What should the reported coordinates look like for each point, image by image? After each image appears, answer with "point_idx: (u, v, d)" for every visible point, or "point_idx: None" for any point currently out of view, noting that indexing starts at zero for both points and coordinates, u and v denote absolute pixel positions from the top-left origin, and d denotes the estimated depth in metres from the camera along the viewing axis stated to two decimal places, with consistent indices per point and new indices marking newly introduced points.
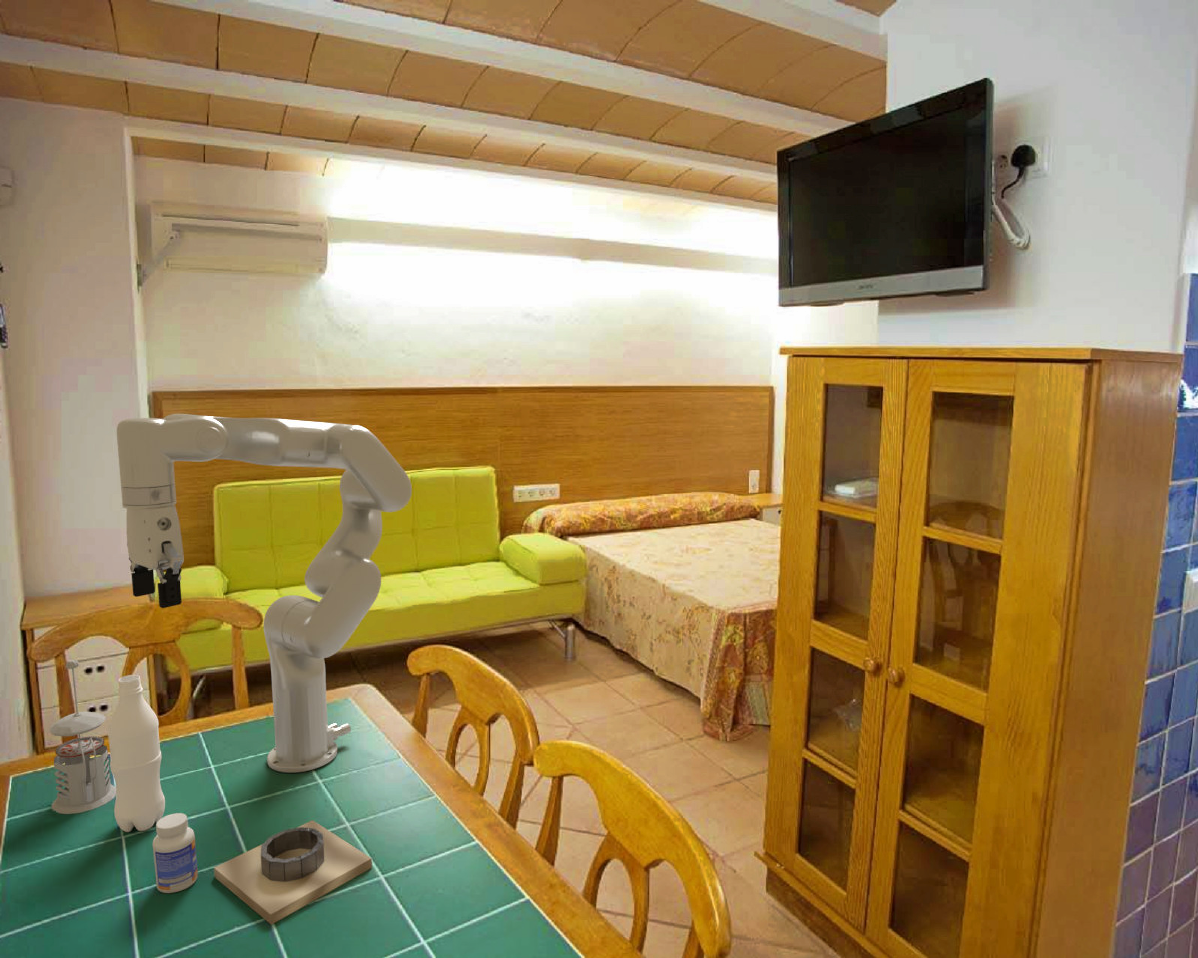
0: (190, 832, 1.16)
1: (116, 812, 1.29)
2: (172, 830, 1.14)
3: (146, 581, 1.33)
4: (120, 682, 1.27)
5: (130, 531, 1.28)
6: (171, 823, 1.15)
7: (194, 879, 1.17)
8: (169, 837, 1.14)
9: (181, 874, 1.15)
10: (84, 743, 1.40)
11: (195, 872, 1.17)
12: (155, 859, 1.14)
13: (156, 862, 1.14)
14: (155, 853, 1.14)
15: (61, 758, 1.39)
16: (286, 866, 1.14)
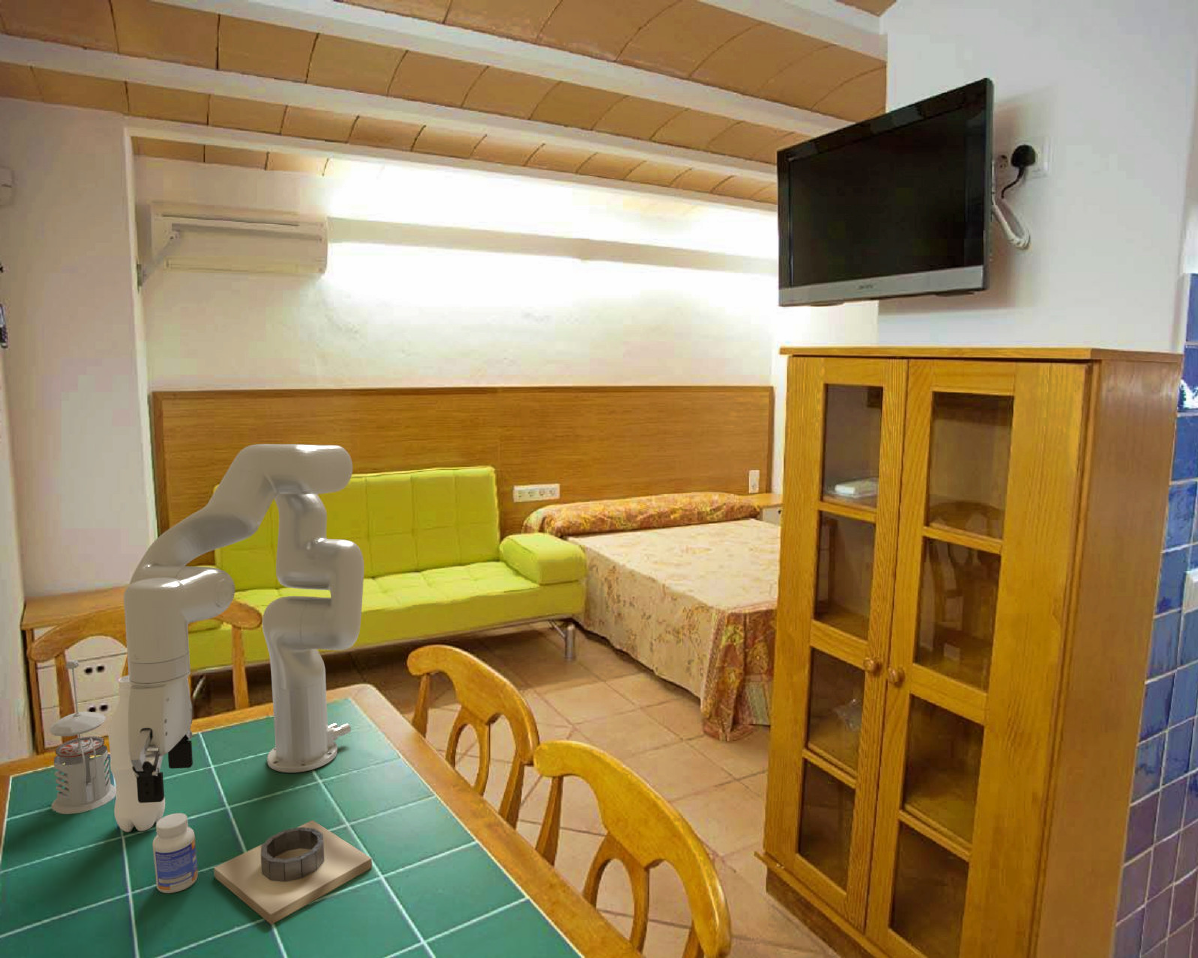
0: (190, 832, 1.16)
1: (116, 812, 1.29)
2: (172, 830, 1.14)
3: None
4: (120, 682, 1.27)
5: (173, 711, 1.11)
6: (171, 823, 1.15)
7: (194, 879, 1.17)
8: (169, 837, 1.14)
9: (181, 874, 1.15)
10: (84, 743, 1.40)
11: (195, 872, 1.17)
12: (155, 859, 1.14)
13: (156, 862, 1.14)
14: (155, 853, 1.14)
15: (61, 758, 1.39)
16: (286, 866, 1.14)
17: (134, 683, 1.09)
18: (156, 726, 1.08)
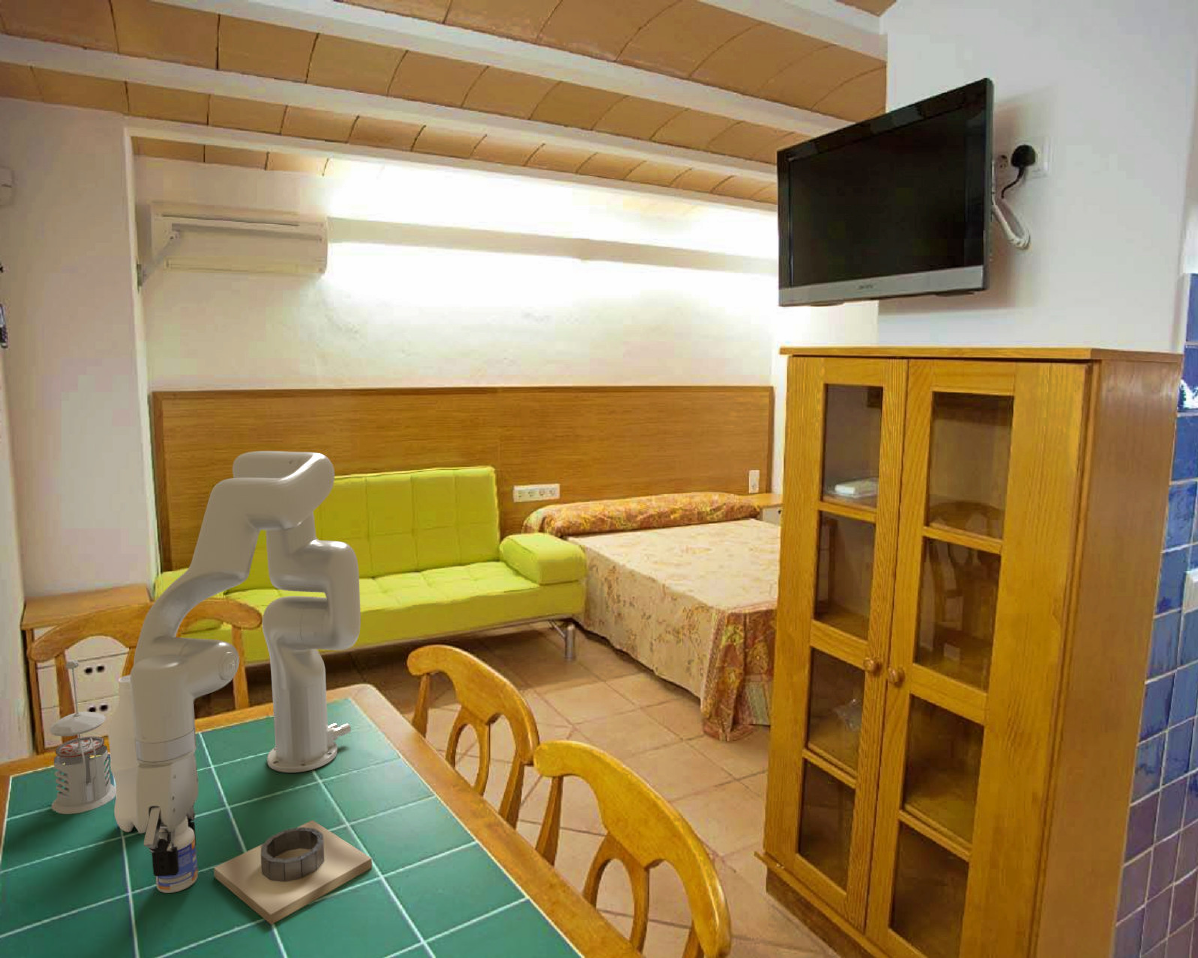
0: (190, 832, 1.16)
1: (116, 812, 1.29)
2: None
3: None
4: (120, 682, 1.27)
5: (181, 786, 1.13)
6: None
7: (194, 879, 1.17)
8: None
9: (181, 874, 1.15)
10: (84, 743, 1.40)
11: (195, 872, 1.17)
12: None
13: None
14: None
15: (61, 758, 1.39)
16: (286, 866, 1.14)
17: (141, 761, 1.11)
18: (163, 804, 1.10)
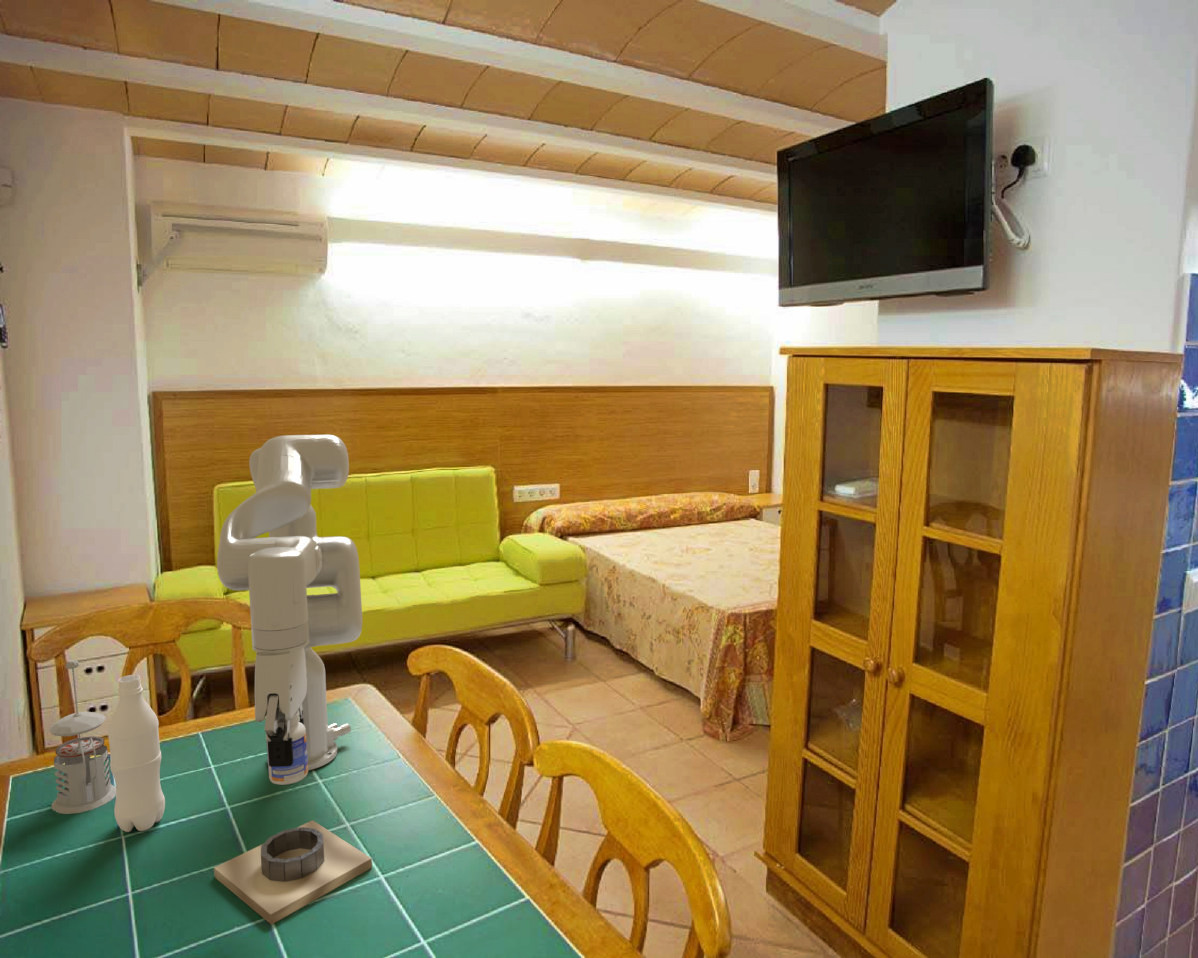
0: (302, 726, 1.17)
1: (116, 812, 1.29)
2: None
3: None
4: (120, 682, 1.27)
5: (296, 677, 1.13)
6: (284, 715, 1.15)
7: (306, 773, 1.17)
8: (283, 729, 1.14)
9: (294, 766, 1.15)
10: (84, 743, 1.40)
11: (306, 766, 1.17)
12: None
13: None
14: None
15: (61, 758, 1.39)
16: (286, 866, 1.14)
17: (259, 650, 1.11)
18: (282, 692, 1.10)
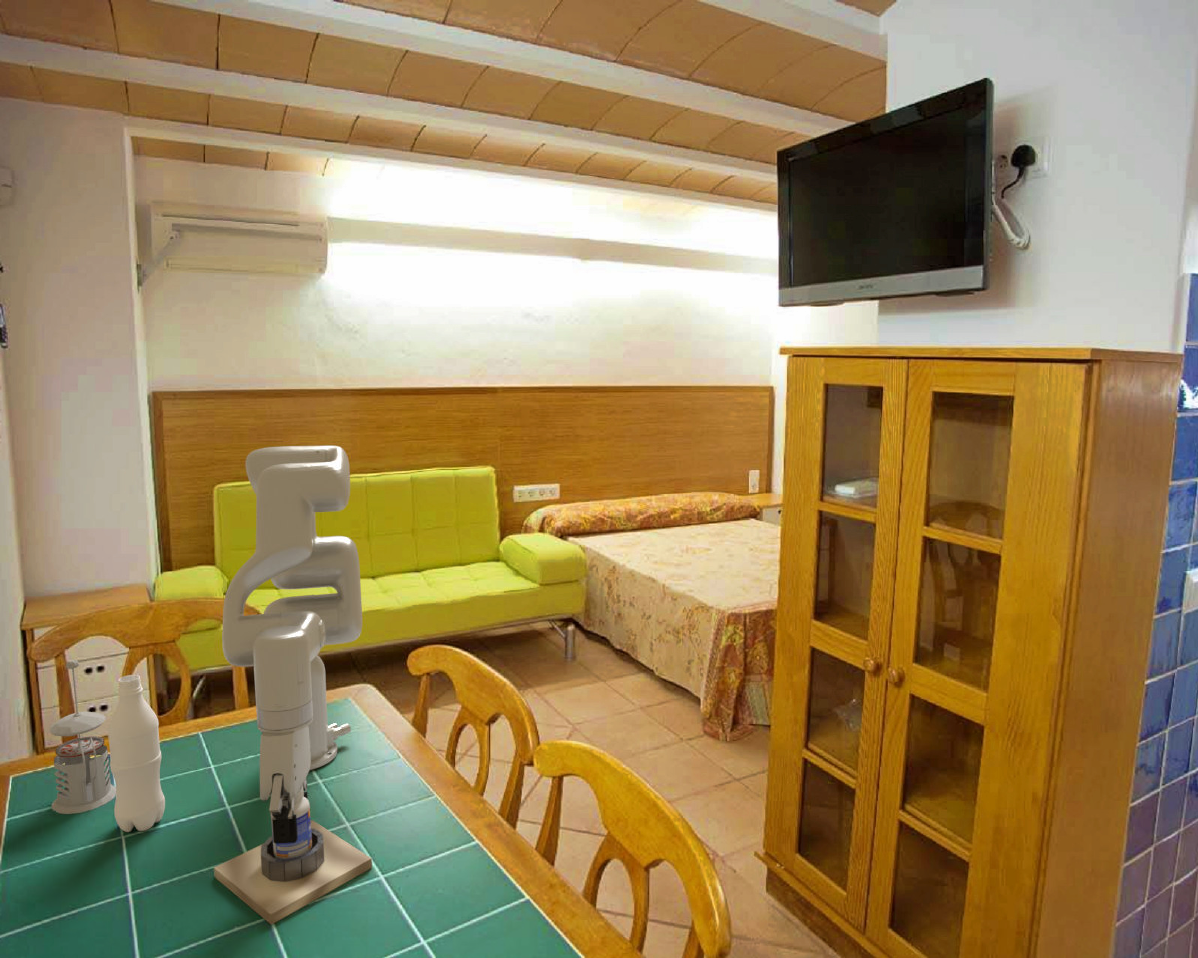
0: (306, 801, 1.18)
1: (116, 812, 1.29)
2: None
3: None
4: (120, 682, 1.27)
5: (300, 755, 1.15)
6: None
7: (310, 847, 1.18)
8: (287, 805, 1.16)
9: (299, 841, 1.16)
10: (84, 743, 1.40)
11: (310, 840, 1.19)
12: None
13: None
14: None
15: (61, 758, 1.39)
16: (286, 866, 1.14)
17: (264, 730, 1.13)
18: (286, 771, 1.12)
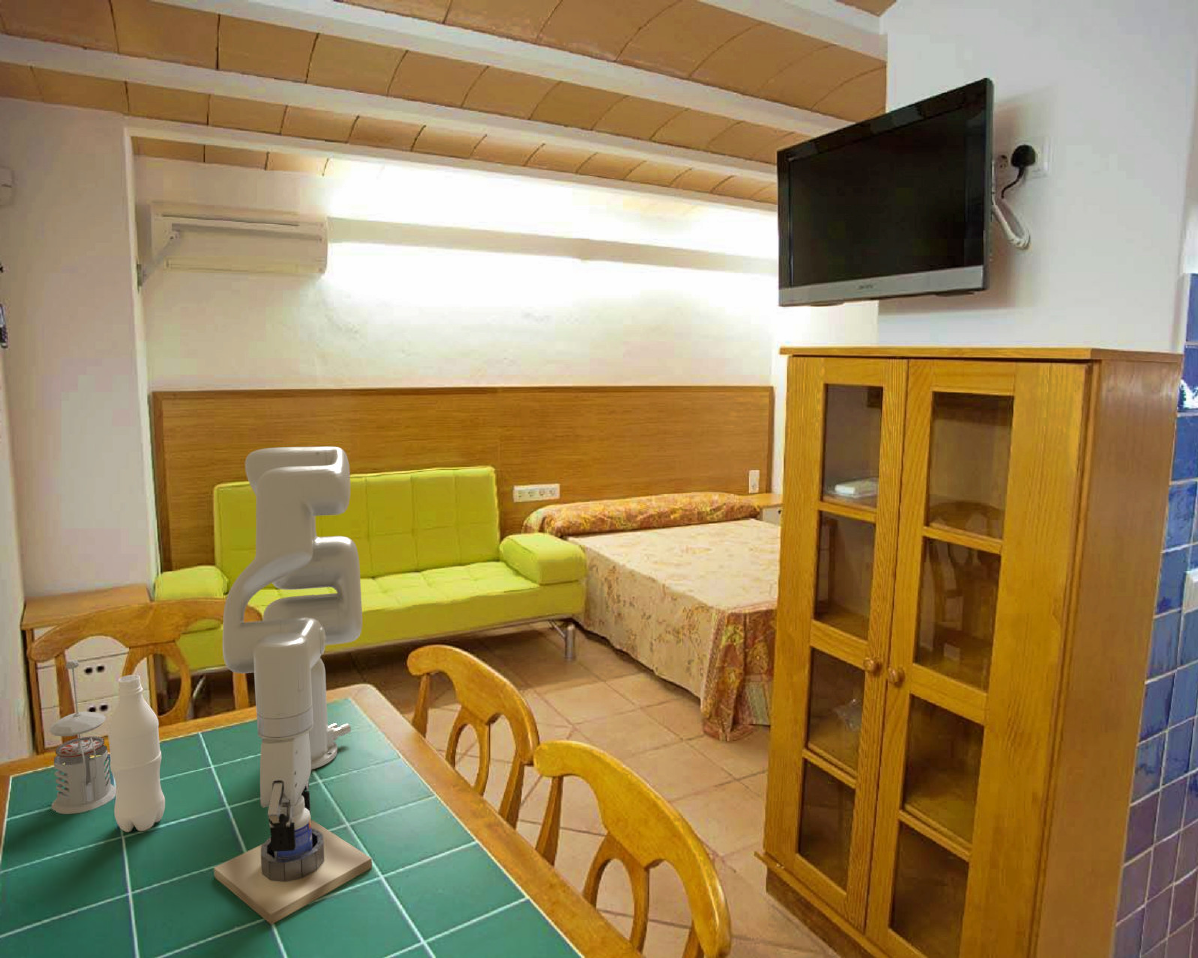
0: (307, 812, 1.19)
1: (116, 812, 1.29)
2: None
3: None
4: (120, 682, 1.27)
5: (300, 762, 1.15)
6: None
7: None
8: None
9: (300, 852, 1.17)
10: (84, 743, 1.40)
11: None
12: None
13: None
14: None
15: (61, 758, 1.39)
16: (286, 866, 1.14)
17: (264, 737, 1.13)
18: (287, 778, 1.12)
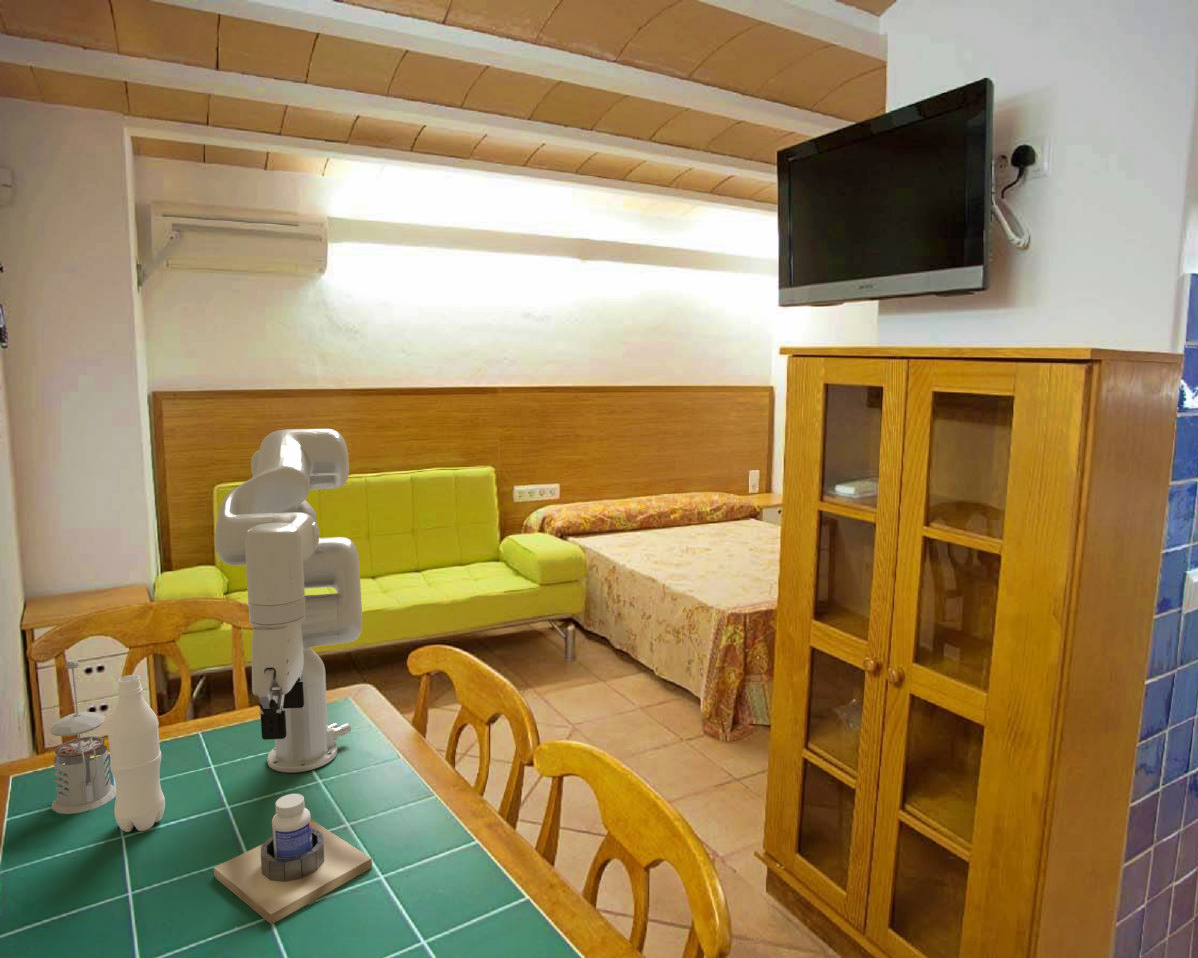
0: (307, 812, 1.19)
1: (116, 812, 1.29)
2: (292, 809, 1.16)
3: None
4: (120, 682, 1.27)
5: (293, 652, 1.14)
6: (289, 803, 1.17)
7: None
8: (288, 817, 1.17)
9: (300, 852, 1.17)
10: (84, 743, 1.40)
11: None
12: (275, 838, 1.17)
13: (276, 841, 1.17)
14: (275, 832, 1.16)
15: (61, 758, 1.39)
16: (286, 866, 1.14)
17: (256, 624, 1.12)
18: (279, 666, 1.11)
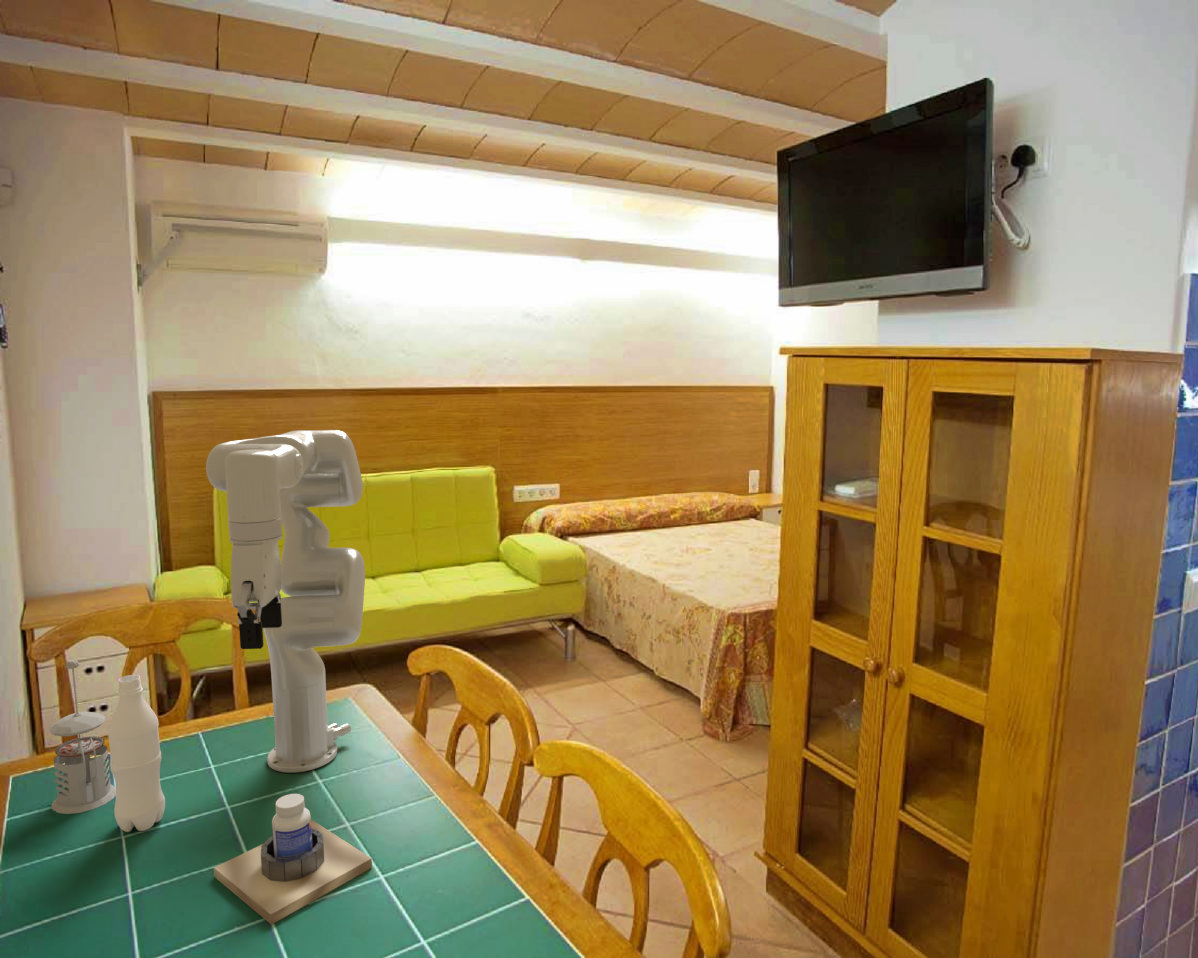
0: (307, 812, 1.19)
1: (116, 812, 1.29)
2: (292, 809, 1.16)
3: None
4: (120, 682, 1.27)
5: (270, 568, 1.22)
6: (289, 803, 1.17)
7: None
8: (288, 817, 1.17)
9: (300, 852, 1.17)
10: (84, 743, 1.40)
11: None
12: (275, 838, 1.17)
13: (276, 841, 1.17)
14: (275, 832, 1.16)
15: (61, 758, 1.39)
16: (286, 866, 1.14)
17: (235, 541, 1.20)
18: (256, 579, 1.20)
